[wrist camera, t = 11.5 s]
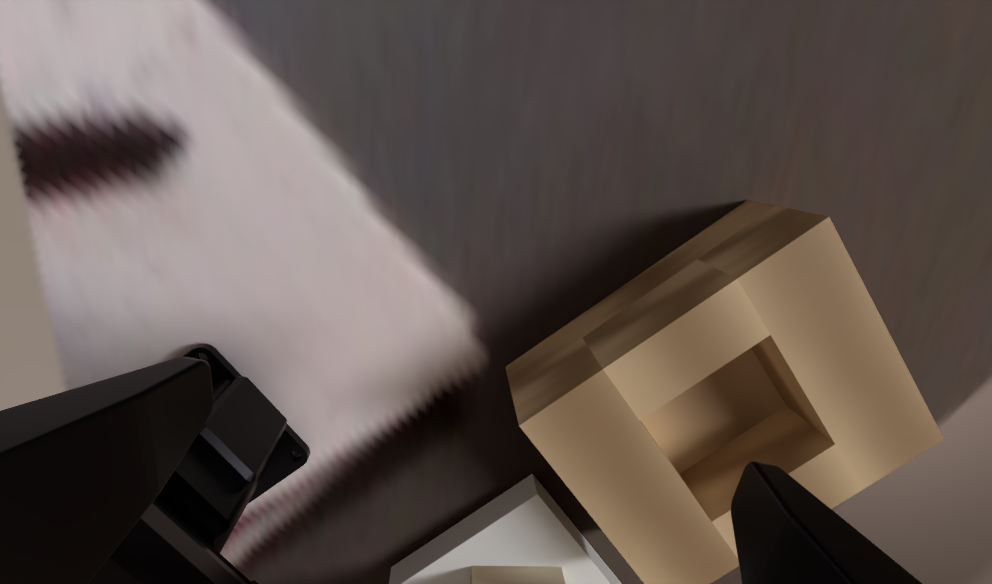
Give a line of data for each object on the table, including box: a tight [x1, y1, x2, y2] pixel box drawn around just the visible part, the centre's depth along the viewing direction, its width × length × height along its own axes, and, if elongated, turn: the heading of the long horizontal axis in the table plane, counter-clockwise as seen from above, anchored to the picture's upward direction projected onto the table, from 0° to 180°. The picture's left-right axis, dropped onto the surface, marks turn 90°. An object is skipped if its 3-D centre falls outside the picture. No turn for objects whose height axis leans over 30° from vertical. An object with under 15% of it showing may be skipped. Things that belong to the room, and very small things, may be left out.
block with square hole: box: [505, 200, 944, 584], centre depth 22 cm, size 12×10×5 cm
